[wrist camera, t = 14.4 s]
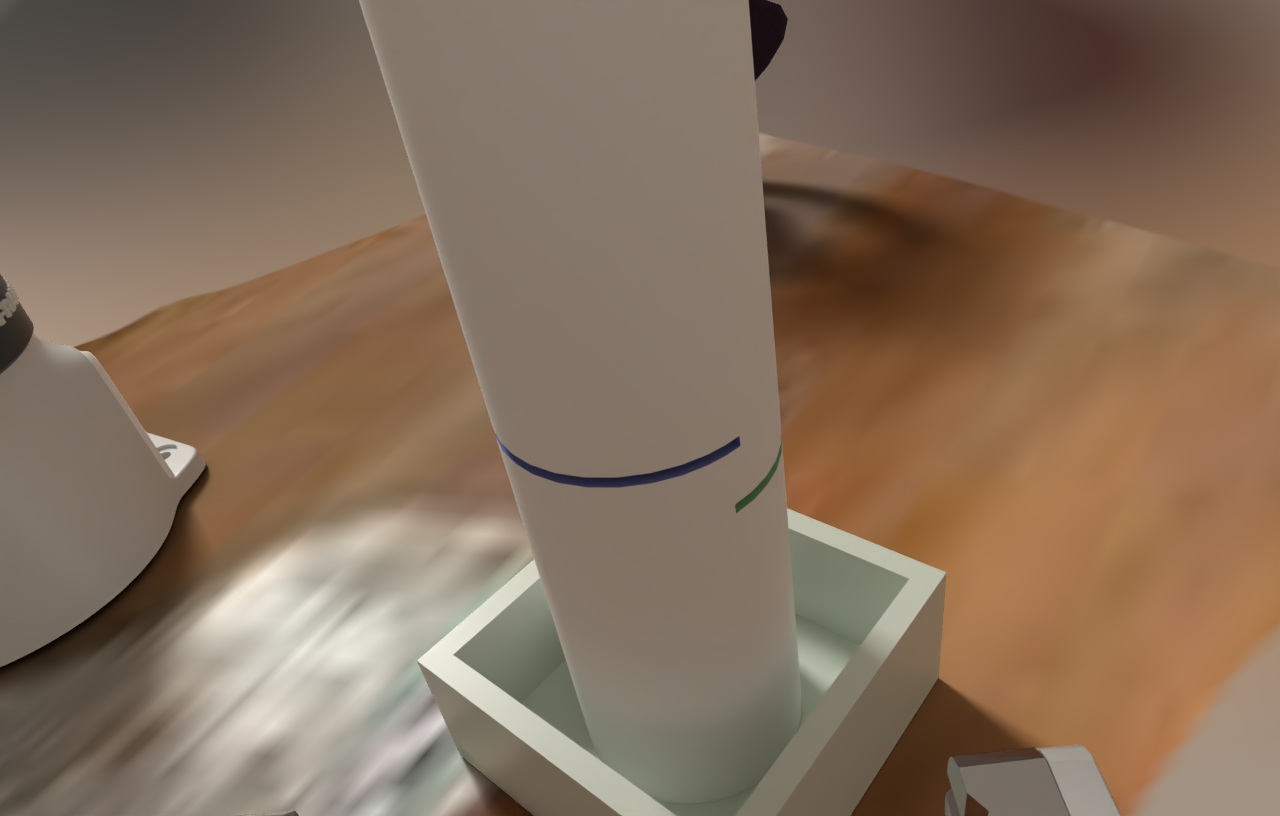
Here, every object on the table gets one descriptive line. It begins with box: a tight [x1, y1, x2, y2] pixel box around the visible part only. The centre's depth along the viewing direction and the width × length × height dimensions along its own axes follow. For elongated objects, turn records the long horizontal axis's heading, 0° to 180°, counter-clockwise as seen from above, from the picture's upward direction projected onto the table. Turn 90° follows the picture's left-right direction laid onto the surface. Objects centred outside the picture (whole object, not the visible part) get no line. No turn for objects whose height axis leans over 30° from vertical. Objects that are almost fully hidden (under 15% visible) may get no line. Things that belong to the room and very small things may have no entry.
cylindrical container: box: [359, 0, 802, 804], centre depth 21 cm, size 7×7×25 cm
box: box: [417, 509, 946, 816], centre depth 28 cm, size 12×12×5 cm
